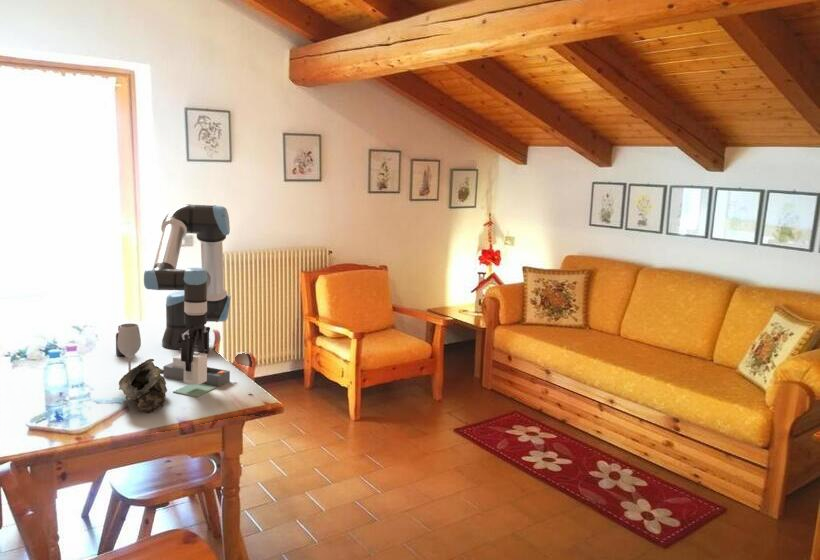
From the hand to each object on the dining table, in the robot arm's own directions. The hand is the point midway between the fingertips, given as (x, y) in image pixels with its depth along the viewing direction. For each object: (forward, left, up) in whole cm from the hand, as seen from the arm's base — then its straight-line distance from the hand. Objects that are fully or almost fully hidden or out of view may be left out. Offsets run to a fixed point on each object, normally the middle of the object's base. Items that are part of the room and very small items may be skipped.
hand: (195, 377), depth 226 cm
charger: (0, 0, -2) cm, 2 cm away
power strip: (-10, -11, -5) cm, 15 cm away
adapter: (-10, -13, -2) cm, 17 cm away
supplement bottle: (-21, -50, -5) cm, 54 cm away
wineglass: (+4, -25, -5) cm, 26 cm away
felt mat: (0, 0, -5) cm, 5 cm away
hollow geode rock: (+18, -6, -5) cm, 20 cm away
